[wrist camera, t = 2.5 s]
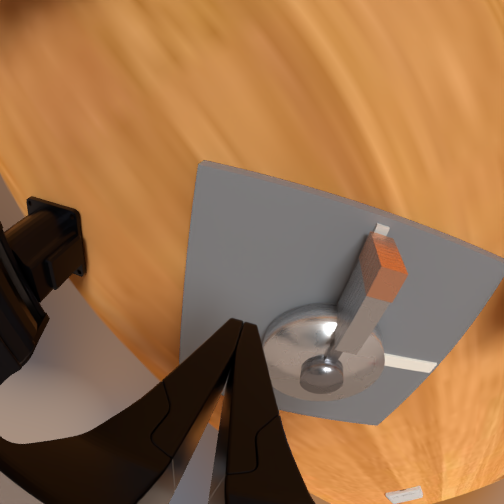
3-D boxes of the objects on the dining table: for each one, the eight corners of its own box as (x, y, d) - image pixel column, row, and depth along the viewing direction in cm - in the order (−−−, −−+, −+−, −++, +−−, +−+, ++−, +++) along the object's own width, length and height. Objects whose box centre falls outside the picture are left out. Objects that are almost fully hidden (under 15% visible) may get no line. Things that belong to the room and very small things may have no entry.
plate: (181, 373, 29) (177, 382, 28) (204, 160, 17) (197, 165, 16) (376, 418, 28) (377, 426, 27) (504, 258, 16) (511, 267, 15)
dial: (351, 389, 24) (351, 426, 21) (252, 367, 24) (243, 404, 21) (442, 254, 16) (464, 292, 13) (307, 210, 16) (304, 243, 13)
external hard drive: (392, 498, 51) (385, 491, 47) (423, 492, 48) (420, 483, 43) (392, 504, 50) (385, 497, 45) (423, 497, 46) (420, 489, 42)
